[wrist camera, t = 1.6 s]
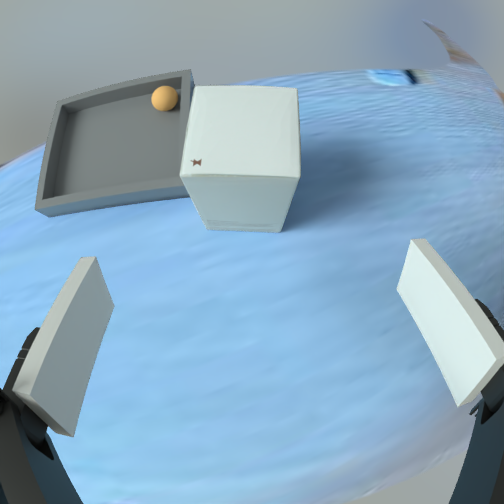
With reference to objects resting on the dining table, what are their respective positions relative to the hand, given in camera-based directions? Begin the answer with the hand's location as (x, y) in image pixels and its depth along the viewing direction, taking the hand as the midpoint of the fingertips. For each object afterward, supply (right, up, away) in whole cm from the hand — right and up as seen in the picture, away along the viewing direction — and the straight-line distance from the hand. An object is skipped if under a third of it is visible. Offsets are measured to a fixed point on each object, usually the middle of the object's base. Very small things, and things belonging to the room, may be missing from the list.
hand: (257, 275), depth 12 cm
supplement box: (-1, +6, +18) cm, 19 cm away
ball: (-10, +18, +19) cm, 28 cm away
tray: (-16, +13, +19) cm, 28 cm away
